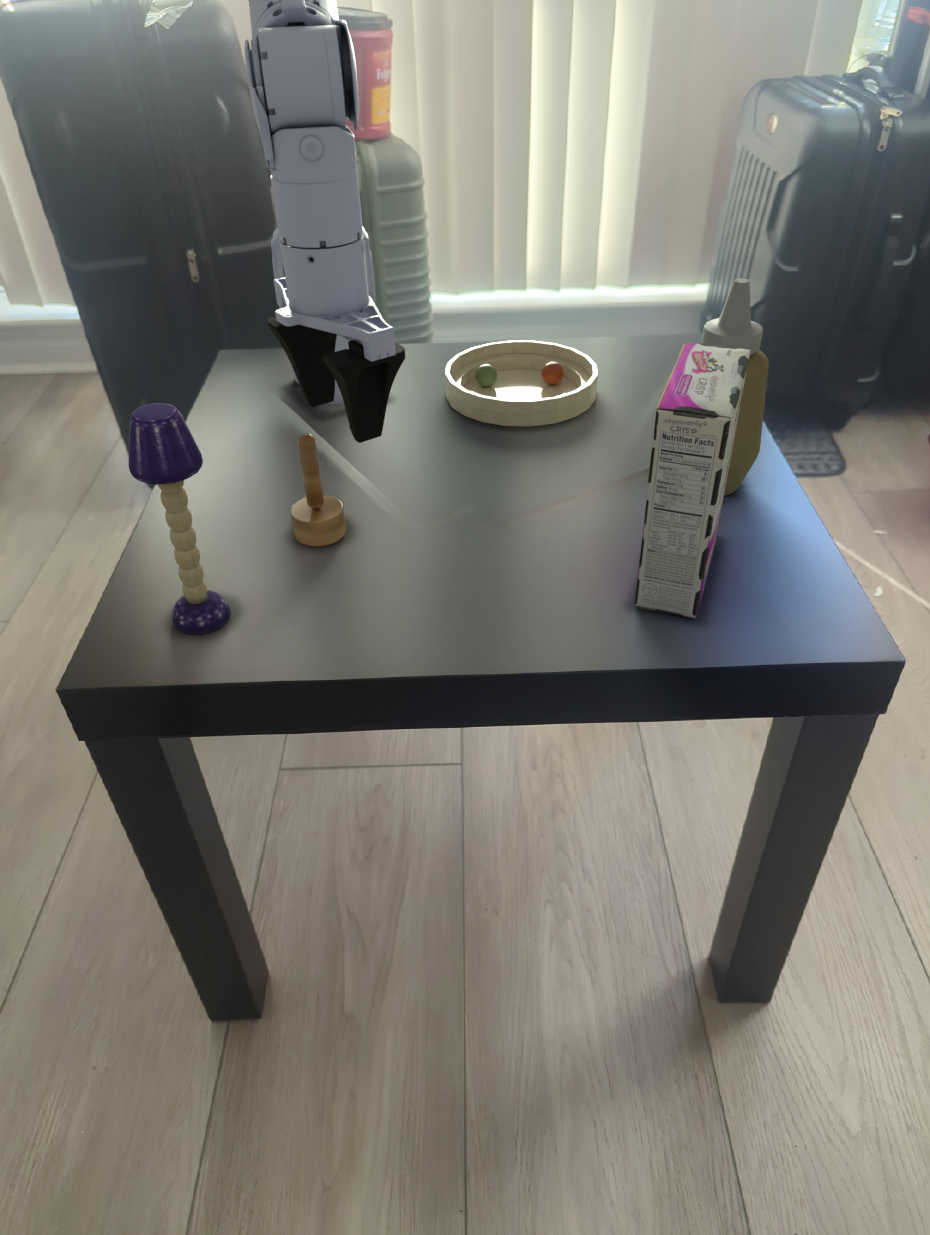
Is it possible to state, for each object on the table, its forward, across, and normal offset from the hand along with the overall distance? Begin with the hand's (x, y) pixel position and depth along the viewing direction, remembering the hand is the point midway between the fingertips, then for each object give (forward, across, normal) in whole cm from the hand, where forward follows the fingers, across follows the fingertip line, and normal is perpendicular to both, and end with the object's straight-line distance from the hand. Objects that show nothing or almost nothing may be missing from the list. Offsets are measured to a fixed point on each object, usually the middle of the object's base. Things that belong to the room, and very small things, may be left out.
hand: (343, 420), depth 67 cm
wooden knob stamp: (+10, -1, -3) cm, 10 cm away
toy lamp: (+10, +4, -15) cm, 19 cm away
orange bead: (+9, -11, +31) cm, 34 cm away
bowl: (+10, -11, +27) cm, 31 cm away
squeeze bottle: (+10, +13, +29) cm, 34 cm away
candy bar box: (+10, +21, +17) cm, 29 cm away
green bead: (+9, -15, +25) cm, 30 cm away
